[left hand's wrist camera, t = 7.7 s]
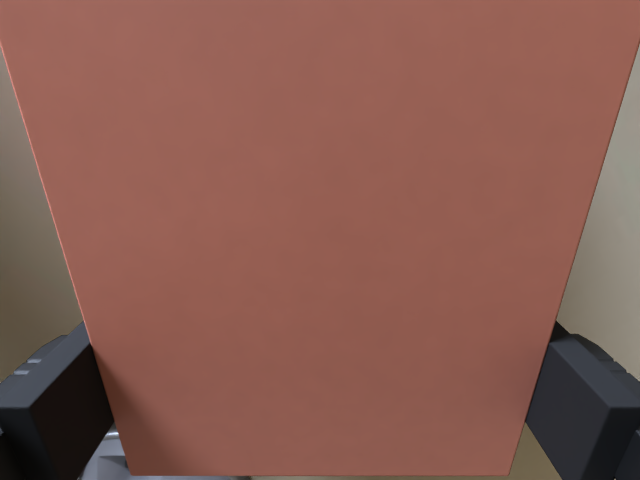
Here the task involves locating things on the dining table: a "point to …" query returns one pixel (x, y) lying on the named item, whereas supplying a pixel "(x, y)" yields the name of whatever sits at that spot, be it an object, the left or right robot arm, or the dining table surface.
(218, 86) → the cabinet
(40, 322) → the dining table surface
